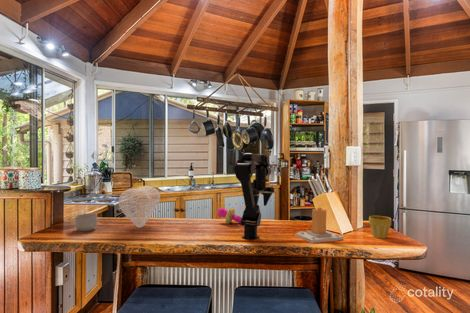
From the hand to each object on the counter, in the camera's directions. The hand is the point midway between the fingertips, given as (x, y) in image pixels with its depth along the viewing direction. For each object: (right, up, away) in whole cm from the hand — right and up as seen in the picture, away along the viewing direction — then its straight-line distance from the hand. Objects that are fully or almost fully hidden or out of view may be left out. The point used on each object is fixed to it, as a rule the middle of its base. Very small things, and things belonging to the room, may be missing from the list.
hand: (260, 206), depth 167 cm
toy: (-16, -13, +18) cm, 28 cm away
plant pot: (+60, -14, -8) cm, 62 cm away
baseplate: (+28, -13, -11) cm, 33 cm away
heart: (-65, -12, +5) cm, 67 cm away
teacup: (-93, -12, 0) cm, 93 cm away
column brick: (+28, -12, -11) cm, 33 cm away
